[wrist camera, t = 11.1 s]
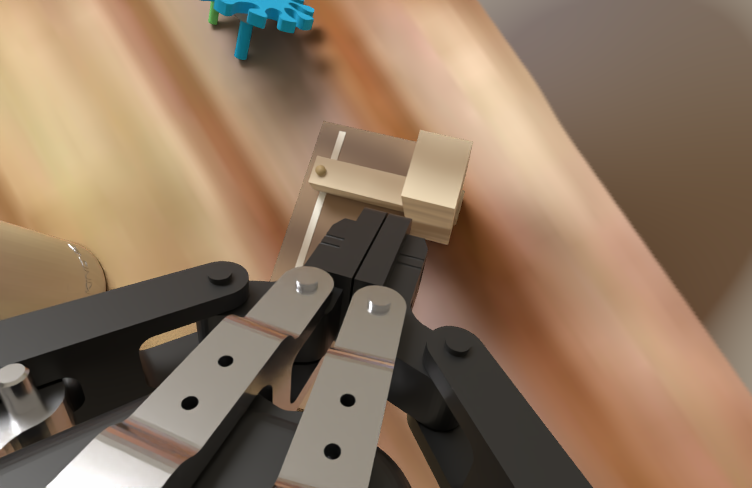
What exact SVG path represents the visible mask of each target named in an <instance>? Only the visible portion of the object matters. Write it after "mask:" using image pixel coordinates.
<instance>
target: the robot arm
mask: <svg viewBox="0 0 752 488" xmlns="http://www.w3.org/2000/svg"><path fill="white" fill-rule="evenodd" d="M411 226H412V219H411V218H407V217H403V216H399V215H395V214H391V213H389V214H388V213H387V212H383V211H379V210H375V209H371V208H367V207H365V208H364V209H363V211H362V212H361V214H360V215H359V217H358V218H357V220H356V221H354V220H350V219H346V218H344V219H342V220H341V221H339V222H337V223H335V224H333V225H332V226H331V228H330V229H329V231H328V232H327V234H326V236H324V238H323V239H322V241H321V243H319V245H318V246H317V248H316V249H315V250H314V252H313V253H312V255H311V256H310V257H309V259H308V260H307V262H306V263H305V265H304V266H301V267H296V268H292V269H290V270H288V271H287V272H285V273H284V274H283V275H282V276H281V277H280V278H279V279H278V281H274V282H266V281H249V276H248V272H247V271H246V269H245V268H244V267H242V266H241V265H239V264H236V263H233V262H226V261H219V262H212V263H208V264H204V265H201V266H197V267H193V268H190V269H186V270H183V271H179V272H175V273H172V274H168V275H164V276H161V277H157V278H153V279H150V280H146V281H142V282H139V283H135V284H131V285H128V286H124V287H121V288H117V289H113V290H110V291H106V282H105V277H104V273H103V269H102V268H101V266H100V264H99V262H98V260H97V259H96V257H95V256H94V255H93V254H92V253H91V252H90V251H89V250H87V249H86V248H84V247H83V246H81V245H79V244H76V243H73V242H70V241H67V240H63V239H60V238H57V237H53V236H50V235H47V234H43V233H40V232H37V231H34V230H31V229H28V228H24V227H21V226H18V225H14V224H11V223H7V222H4V221H1V220H0V488H411V486H410V484H409V482H408V480H407V479H406V477H405V475H404V473H403V472H402V471H401V469H400V468H399V467H398V465H397V464H396V463H395V462H394V461H393V460H392V459H391V458H390V457H389V456H388V455H387V454H386V453H385V452H384V451H382V450H381V449H380V448H379V447H377V443H378V439H379V434H380V429H381V425H382V420H383V415H384V411H385V406H386V402H387V400H388V401H389V402H391V403H392V404H394V405H395V406H397V407H398V408H399V409H401V410H402V411H404V412H405V413H407V421H408V425H409V427H410V429H411V431H412V433H413V435H414V437H415V439H416V441H417V443H418V445H419V447H420V449H421V451H422V453H423V455H424V457H425V459H426V461H427V463H428V465H429V467H430V469H431V470H432V472H433V474H434V476H435V478H436V480H437V482H438V484H439V486H440V488H593V487H592V486H591V485H590V483H589V482H588V481H587V479H586V478H585V477H584V475H583V474H582V473H581V471H580V470H579V469H578V468H577V466H576V465H575V464H574V462H573V461H572V460H571V458H570V457H569V456H568V454H567V453H566V452H565V451H564V449H563V448H562V447H561V445H560V444H559V443H558V441H557V440H556V439H555V437H554V436H553V435H552V434H551V432H550V431H549V430H548V428H547V427H546V426H545V424H544V423H543V422H542V420H541V419H540V418H539V417H538V415H537V414H536V413H535V411H534V410H533V409H532V407H531V406H530V405H529V403H528V402H527V401H526V400H525V398H524V397H523V396H522V394H521V393H520V392H519V390H518V389H517V388H516V386H515V385H514V384H513V383H512V381H511V380H510V379H509V377H508V376H507V375H506V373H505V372H504V371H503V369H502V368H501V367H500V366H499V364H498V363H497V362H496V360H495V359H494V358H493V356H492V355H491V354H490V352H489V351H488V350H487V349H486V347H485V346H484V345H483V343H482V342H481V341H480V340H479V339H478V338H477V337H476V336H475V335H474V334H472V333H471V332H469V331H467V330H465V329H462V328H459V327H454V326H444V327H440V328H437V329H435V330H431V329H429V328H428V327H426V326H424V325H423V324H422V323H420V322H419V321H418V320H417V319H416V318H415V316H414V315H413V313H412V308H413V305H414V302H415V299H416V296H417V293H418V290H419V286H420V282H421V278H422V273H423V269H424V265H425V261H426V256H427V252H428V248H427V245H426V242H425V239H424V238H420V237H417V236H413V235H410V231H411ZM194 322H196V325H197V332H195V333H192V334H189V335H187V336H184V337H181V338H178V339H175V340H172V341H169V342H167V343H164V344H161V345H158V346H155V347H152V348H149V349H146V350H139V349H140V346H141V345H142V344H143V343H144V342H145V341H146V340H147V339H149V338H151V337H153V336H156V335H159V334H162V333H165V332H168V331H171V330H174V329H177V328H180V327H183V326H186V325H189V324H192V323H194ZM333 341H335V345H334V347H333V348H331V345H332V343H333ZM315 379H316V381H315ZM314 381H315V383H314ZM313 383H314V386H313V388H312V391H311V393H310V396H309V399H308V401H307V404H306V406H305V409H304V412H299V411H297V409H298V407H299V406H300V404H301V402H302V401H303V399H304V397H305V396H306V394H307V393H308V391H309V389H310V388H311V386H312V384H313Z"/></svg>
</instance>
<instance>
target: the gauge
mask: <svg viewBox="0 0 752 488" xmlns="http://www.w3.org/2000/svg"><path fill="white" fill-rule="evenodd" d="M472 144H473V141H468V140H464V139H459V138H455V137H450V136H446V135H441V134H437V133H432V132H427V131H423V130H420V133H419V136H418V140H417V143H416V146H415V150H414V153H413V157H412V160H411V163H410V167H409V170H408V174H407V177H405V176H401V175H397V174H392V173H388V172H384V171H380V170H376V169H371V168H367V167H363V166H359V165H355V164H350V163H346V162H342V161H338V160H334V159H329V158H325V157H321V156H317V157H316V160H315V163H314V166H313V169H312V172H311V175H310V178H309V181H308V182H309V184H310V185H311V187H312V188H313V189H314V190H317V191H321V192H325V193H329V194H333V195H337V196H341V197H345V198H349V199H352V200H356V201H360V202H364V203H368V204H372V205H376V206H380V207H384V208H388V209H392V210H396V211H400V212H404V215H405V217H407V218H411V219H412V226H411V231H410V235H413V236H417V237H420V238H424V239H426V240H430V241H434V242H438V243H442V244H446V245H448V243H449V239H450V235H451V232H452V228H453V225H456V223H457V219H458V215H459V211H460V208H461V204H462V200H463V196H464V192H465V191H464V190H463V185H464V181H465V176H466V172H467V167H468V162H469V158H470V153H471V149H472Z"/></svg>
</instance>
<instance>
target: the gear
mask: <svg viewBox="0 0 752 488" xmlns="http://www.w3.org/2000/svg"><path fill="white" fill-rule="evenodd" d="M201 1H211V6H210V13H209V20H208V22H209V23H211V24H214V25H217V22H218V16H219V13H221V14H223V15H224V16H232V15H234V16H235V17H237V18H238V19H239V20H240V26H239V32H238V37H237V43H236V48H235V54H234V56H235V57H236V58H238V59H241V60H246V59H247V54H248V49H249V44H250V39H251V34H252V29H253V26H256V27H258V28H261V29H264V28H265V25H266V20H267V19H273V20H275V21H277V22H278V24H277V29H279V30H280V31H283V32H288V33H294V31H295V27H298V28H299V29H301V30H310V29H311V27H312V24H313V20H314V19H313V18H312V17H313V13H314V9H313V8H311V7H309V6H306V5H303V2H304V0H201Z"/></svg>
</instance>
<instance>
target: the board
mask: <svg viewBox="0 0 752 488" xmlns="http://www.w3.org/2000/svg"><path fill="white" fill-rule="evenodd" d="M416 143H417V142H415V141H410V140H406V139H401V138H397V137H392V136H388V135H384V134H379V133H375V132H370V131H366V130H361V129H357V128H352V127H348V126H343V125H339V124H334V123H330V122H326V121H323V124H322V127H321V130H320V133H319V136H318V139H317V142H316V145H315V148H314V151H313V154H312V157H311V160H310V163H309V166H308V169H307V172H306V175H305V178H304V181H303V184H302V187H301V190H300V193H299V196H298V199H297V202H296V205H295V208H294V211H293V214H292V217H291V220H290V223H289V226H288V229H287V232H286V235H285V237H284V240H283V243H282V246H281V249H280V252H279V255H278V258H277V261H276V264H275V267H274V270H273V273H272V276H271V279H270V282H274V281H278V279H279V278H280V277H281V276H282V275H283V274H284V273H285V272H287V271H288V270H290V269H292V268H296V267H301V266H304V265H305V263H306V262H307V260H308V259H309V257H310V256H311V255H312V253H313V252H314V250H315V249H316V248H317V246H318V245H319V243H321V241H322V239H323V238H324V236H326V234H327V232H328V231H329V229H330V228H331V226H332V225H333V224H335V223H337V222H339V221H341V220H342V219H344V218H346V219H350V220H354V221H356V220H357V218H358V217H359V215H360V214H361V212H362V211H363V209H364V208H365V207H367V208H371V209H375V210H379V211H383V212H387V213H388V214H389V213H391V214H395V215H399V216H403V217H405V215H404V212H400V211H396V210H392V209H388V208H384V207H380V206H376V205H372V204H368V203H364V202H360V201H356V200H352V199H349V198H345V197H341V196H337V195H333V194H329V193H325V192H321V191H317V190H314V189H313V188H312V187H311V185H310V184H309V182H308V181H309V178H310V175H311V172H312V169H313V166H314V163H315V160H316V157H317V156H321V157H325V158H329V159H334V160H338V161H342V162H346V163H350V164H355V165H359V166H363V167H367V168H371V169H376V170H380V171H384V172H388V173H392V174H397V175H401V176H405V177H407V174H408V170H409V167H410V163H411V160H412V157H413V153H414V150H415V146H416ZM334 345H335V341H333V343H332V345H331V348H333V347H334ZM315 381H316V379H315ZM315 381H314V383H315ZM314 383H313V384H312V386H311V388H310V389H309V391H308V393H307V394H306V396H305V397H304V399H303V401H302V402H301V404H300V406H299V407H298V408H301V409H305V406H306V404H307V401H308V399H309V396H310V393H311V391H312V388H313V386H314Z"/></svg>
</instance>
